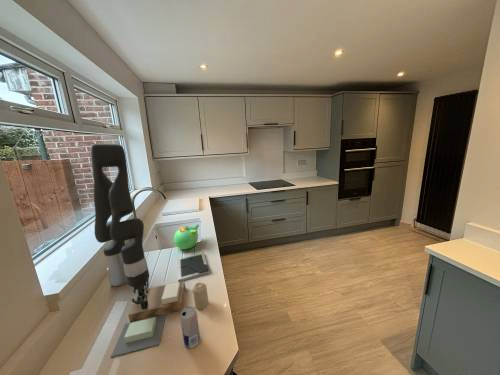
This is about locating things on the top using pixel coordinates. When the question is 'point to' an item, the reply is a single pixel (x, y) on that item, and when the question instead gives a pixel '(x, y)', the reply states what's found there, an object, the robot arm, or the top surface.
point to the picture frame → (192, 267)
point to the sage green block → (140, 330)
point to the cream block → (171, 293)
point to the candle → (200, 296)
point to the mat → (142, 343)
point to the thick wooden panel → (157, 304)
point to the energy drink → (190, 327)
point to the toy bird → (186, 237)
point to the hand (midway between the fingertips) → (145, 307)
